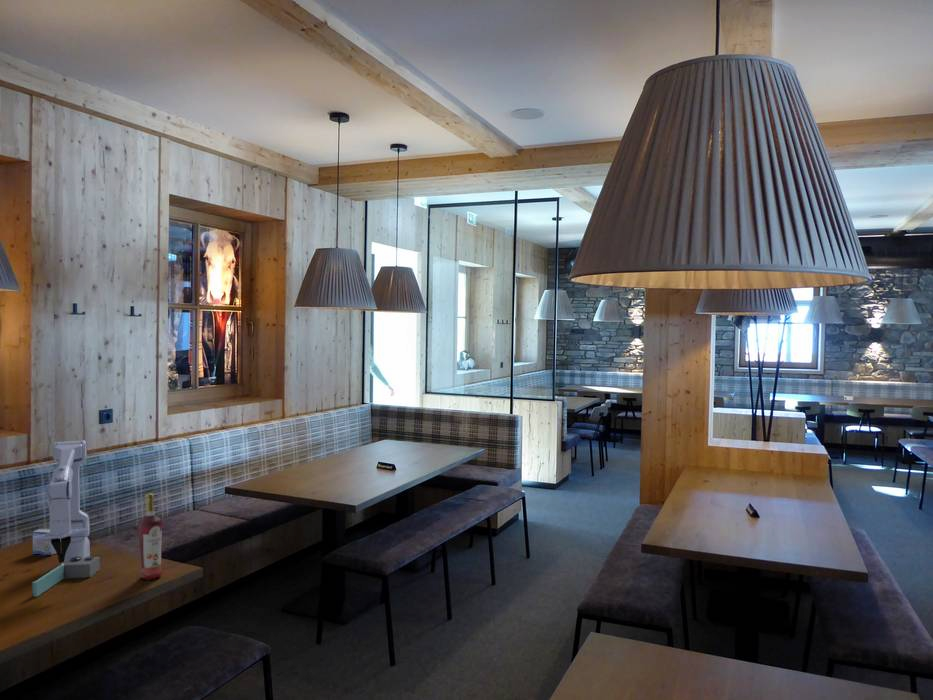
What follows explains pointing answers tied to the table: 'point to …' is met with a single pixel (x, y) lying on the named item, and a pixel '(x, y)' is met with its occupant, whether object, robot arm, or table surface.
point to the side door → (48, 580)
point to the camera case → (81, 567)
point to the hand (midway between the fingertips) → (61, 561)
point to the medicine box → (43, 544)
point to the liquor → (150, 541)
